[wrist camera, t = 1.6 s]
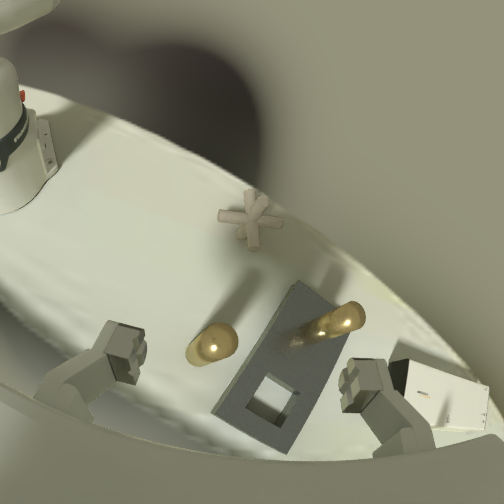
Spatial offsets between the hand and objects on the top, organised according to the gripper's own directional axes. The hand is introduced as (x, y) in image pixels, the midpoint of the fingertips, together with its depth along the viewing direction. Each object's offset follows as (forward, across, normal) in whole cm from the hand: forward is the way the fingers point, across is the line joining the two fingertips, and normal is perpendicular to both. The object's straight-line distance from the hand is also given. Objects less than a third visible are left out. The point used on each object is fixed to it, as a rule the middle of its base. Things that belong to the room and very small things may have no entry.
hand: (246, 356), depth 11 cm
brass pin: (+18, +5, +24) cm, 31 cm away
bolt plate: (+20, -8, +27) cm, 35 cm away
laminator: (+20, -44, +38) cm, 61 cm away
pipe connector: (+37, +2, +15) cm, 40 cm away
